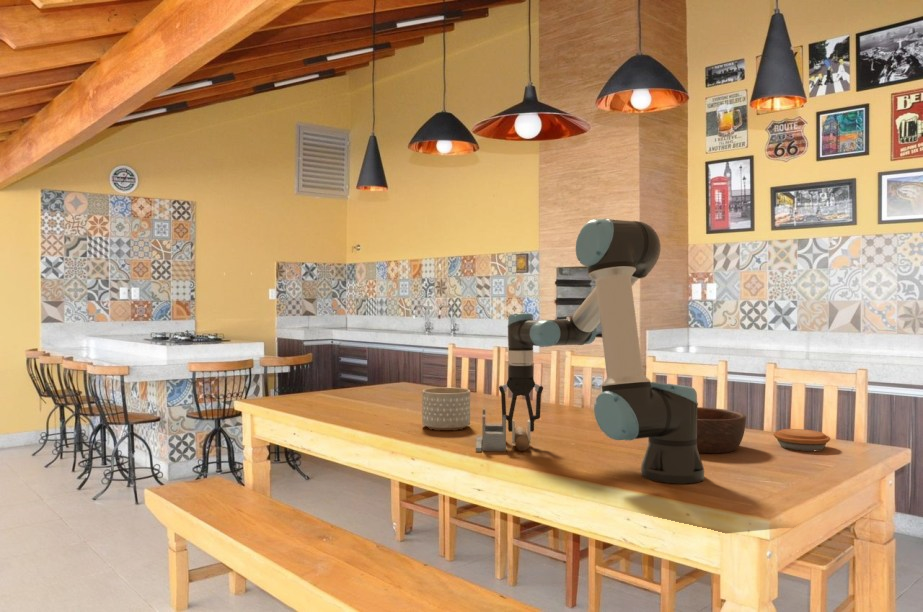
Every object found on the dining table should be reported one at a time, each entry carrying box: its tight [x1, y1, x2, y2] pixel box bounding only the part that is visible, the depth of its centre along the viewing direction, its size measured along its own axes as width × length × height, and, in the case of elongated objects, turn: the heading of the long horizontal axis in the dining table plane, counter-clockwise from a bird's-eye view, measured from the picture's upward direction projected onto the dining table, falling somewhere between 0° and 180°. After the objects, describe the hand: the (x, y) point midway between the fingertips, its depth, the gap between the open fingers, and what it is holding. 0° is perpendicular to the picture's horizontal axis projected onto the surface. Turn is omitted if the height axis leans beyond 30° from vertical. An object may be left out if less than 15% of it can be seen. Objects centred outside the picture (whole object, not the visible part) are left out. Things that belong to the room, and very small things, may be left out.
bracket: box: [475, 407, 507, 453], centre depth 217 cm, size 19×9×10 cm, turn 178°
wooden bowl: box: [697, 406, 747, 454], centre depth 216 cm, size 25×25×10 cm
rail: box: [514, 425, 530, 452], centre depth 216 cm, size 19×4×4 cm, turn 178°
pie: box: [772, 428, 831, 452], centre depth 216 cm, size 15×16×5 cm
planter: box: [421, 387, 471, 431], centre depth 247 cm, size 16×16×13 cm
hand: (521, 442), depth 216 cm, fingers closed on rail, 4 cm apart
